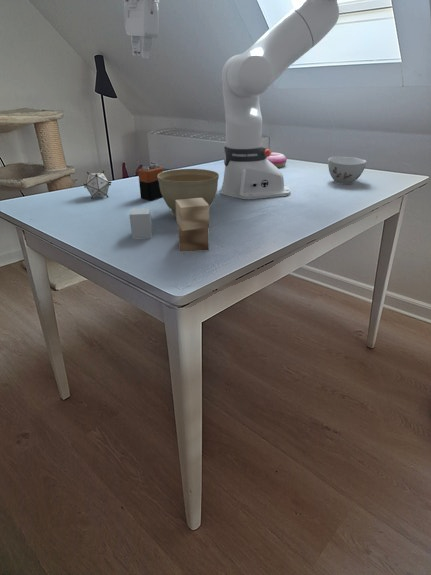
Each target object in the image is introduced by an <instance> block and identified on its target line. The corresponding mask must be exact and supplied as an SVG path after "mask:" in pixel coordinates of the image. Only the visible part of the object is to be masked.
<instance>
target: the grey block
mask: <svg viewBox="0 0 431 575" xmlns="http://www.w3.org/2000/svg"><path fill="white" fill-rule="evenodd" d="M151 213H152V212H151V207H145V208H143V207H141V208H130V211H129V221H130V230H131V239H132V240H141V239H143V240H144V239H146V240H147V239H152V236H153V224H152V215H151Z"/></svg>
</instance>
